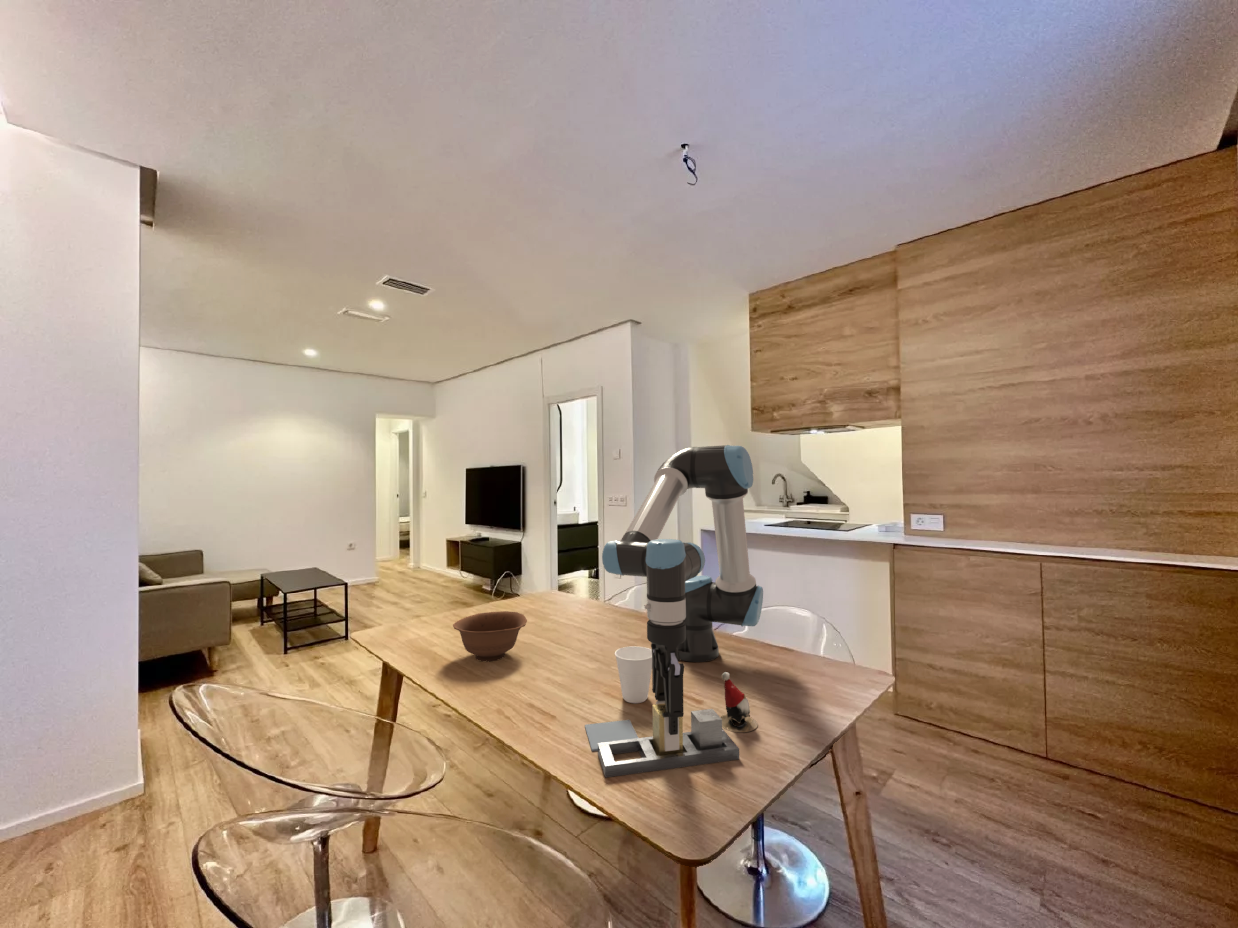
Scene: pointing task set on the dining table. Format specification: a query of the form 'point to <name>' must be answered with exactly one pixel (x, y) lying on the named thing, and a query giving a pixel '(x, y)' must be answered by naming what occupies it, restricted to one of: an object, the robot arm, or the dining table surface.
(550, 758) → the dining table surface
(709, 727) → the block
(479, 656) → the bowl
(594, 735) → the mat
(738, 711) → the figurine
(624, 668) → the cup
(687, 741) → the grey block holder tray
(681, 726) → the block
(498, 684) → the dining table surface
